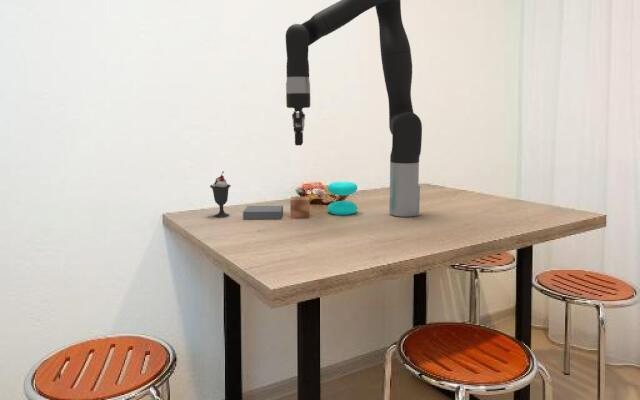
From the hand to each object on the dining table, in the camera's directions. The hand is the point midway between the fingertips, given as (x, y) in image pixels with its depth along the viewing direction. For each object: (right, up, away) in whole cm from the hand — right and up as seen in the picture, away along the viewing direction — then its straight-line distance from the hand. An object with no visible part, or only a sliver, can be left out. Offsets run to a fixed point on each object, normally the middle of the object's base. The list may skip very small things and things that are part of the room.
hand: (299, 144), depth 154 cm
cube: (0, -23, +4) cm, 24 cm away
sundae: (-26, -23, +6) cm, 35 cm away
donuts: (+14, -22, +9) cm, 28 cm away
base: (-12, -24, +5) cm, 27 cm away
